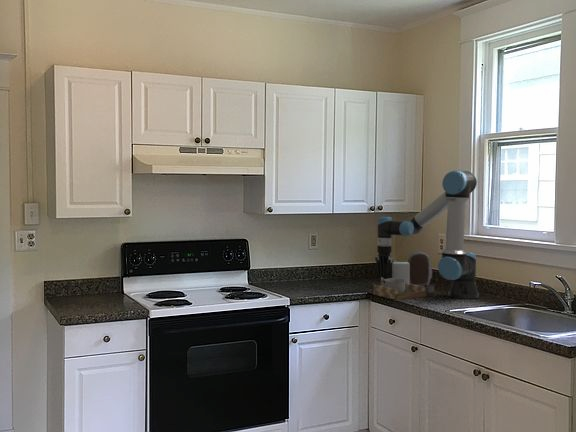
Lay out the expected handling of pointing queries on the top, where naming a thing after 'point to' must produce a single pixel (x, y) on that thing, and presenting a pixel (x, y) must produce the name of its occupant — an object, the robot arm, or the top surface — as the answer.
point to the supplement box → (401, 271)
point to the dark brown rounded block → (420, 268)
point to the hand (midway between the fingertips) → (383, 289)
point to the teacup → (394, 284)
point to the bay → (406, 291)
